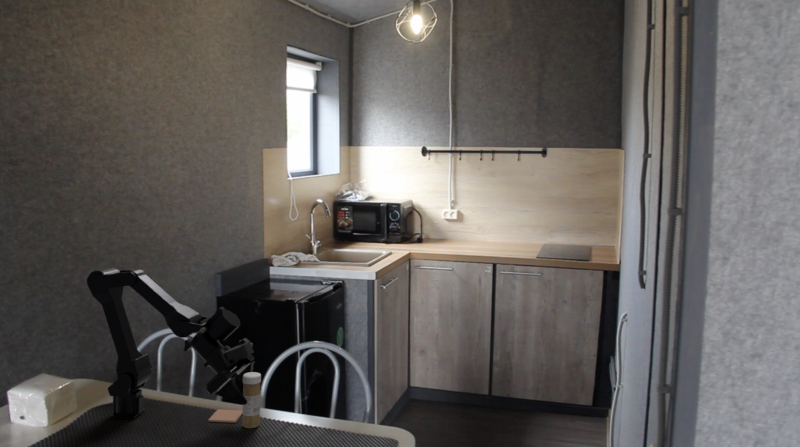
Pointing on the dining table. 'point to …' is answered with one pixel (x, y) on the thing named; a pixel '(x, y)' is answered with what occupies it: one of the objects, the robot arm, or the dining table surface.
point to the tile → (226, 416)
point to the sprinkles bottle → (251, 399)
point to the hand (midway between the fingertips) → (253, 396)
